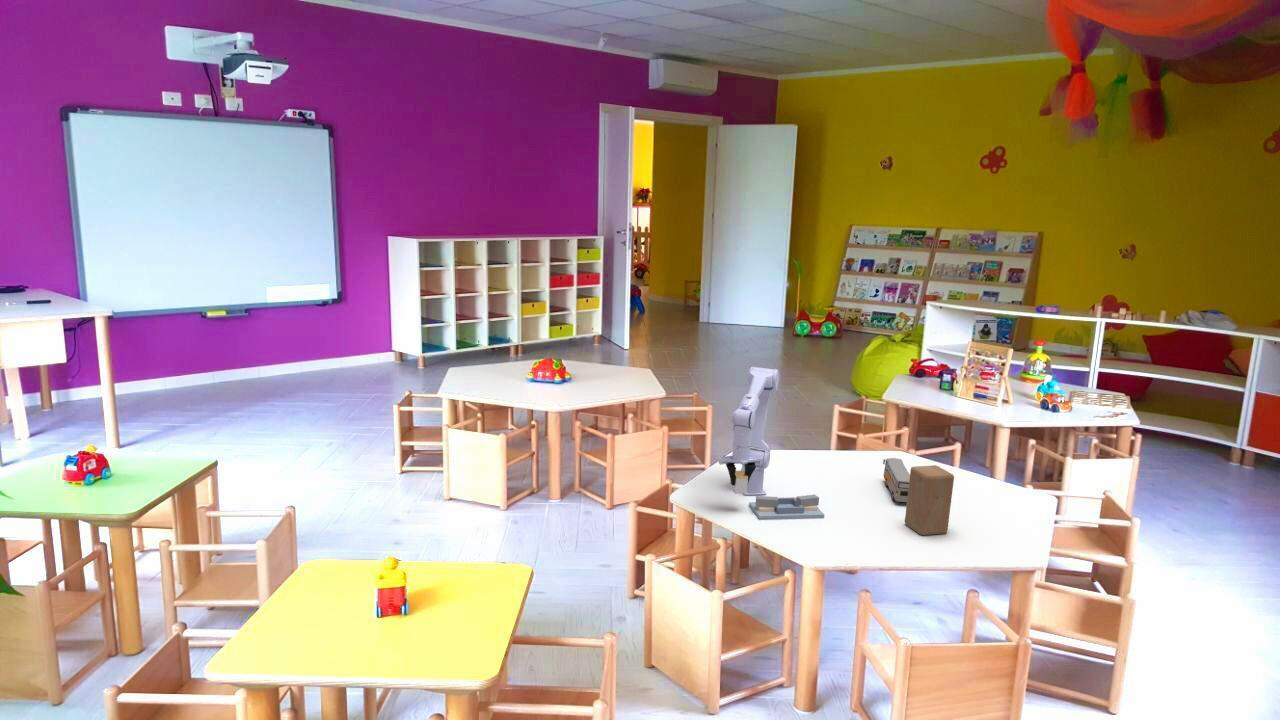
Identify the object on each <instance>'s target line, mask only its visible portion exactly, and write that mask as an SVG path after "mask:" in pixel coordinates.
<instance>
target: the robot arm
mask: <svg viewBox="0 0 1280 720" xmlns="http://www.w3.org/2000/svg"><path fill="white" fill-rule="evenodd" d="M747 381H748V384H749V390H748V393H746V394H744V395H743V397H742V399H741V401H740V404H739V406H738V408H737V409H734V410H733V413H732V418H731V419H732V420H731V421H732V431H733V440H732V443H733V444H732V455H729V456H728V455H727V456H726V455H725V456H719V457H718V464H719V465H722V466H723V465H725V466H726V468H727V471H728V475H729V481H730V484H731V485H734V483H735V472H736V471H737V467H736V465H737V464H738V465H739V464H740V465H742V466H741V469H740V471H745V473H746V474H747V475H748V484H747V493H742V494H743V495H744V496H767V492H766V491H765V490H764V476H765V469H767V468H768V467H769V465H770V460H771V448H770V445H769V444H768V443H766V442H765V434H766V427H767V421H768V414H769V409H770V408H769V407H770V401H771V399H772V395H774V394H776V393H777V391H778V386H779V381H780V371H779V370H778V369H775V368H774V369H773V368H766V367H764V368H763V367H757V366H753V365H752V366H751V367H750V368H749V371H748V374H747ZM731 485H730V486H731Z"/></svg>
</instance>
